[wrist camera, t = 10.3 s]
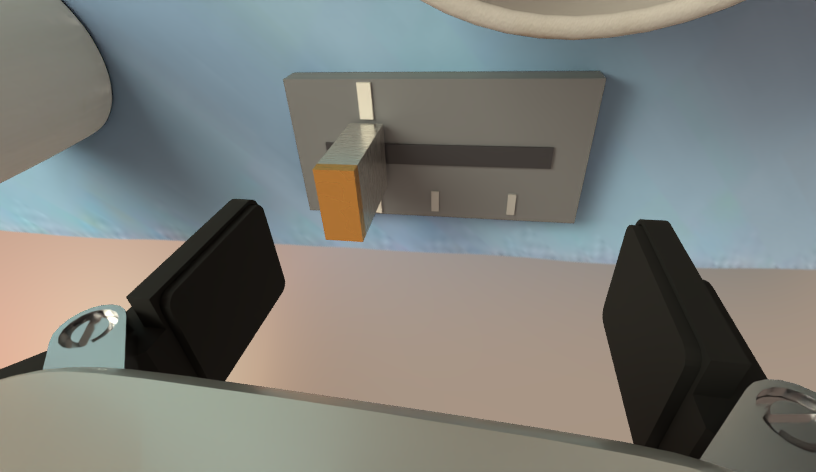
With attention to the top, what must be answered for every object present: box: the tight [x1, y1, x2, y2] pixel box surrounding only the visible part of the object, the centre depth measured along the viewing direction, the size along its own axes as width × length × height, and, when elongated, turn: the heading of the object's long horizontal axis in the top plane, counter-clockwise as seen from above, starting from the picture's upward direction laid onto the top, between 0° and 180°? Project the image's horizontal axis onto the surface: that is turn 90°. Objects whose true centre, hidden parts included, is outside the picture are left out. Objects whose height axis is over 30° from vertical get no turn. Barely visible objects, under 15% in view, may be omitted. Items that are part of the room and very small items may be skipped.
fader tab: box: [312, 123, 388, 242], centre depth 28 cm, size 2×5×8 cm, turn 2°
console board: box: [283, 71, 606, 223], centre depth 32 cm, size 22×11×2 cm, turn 92°
